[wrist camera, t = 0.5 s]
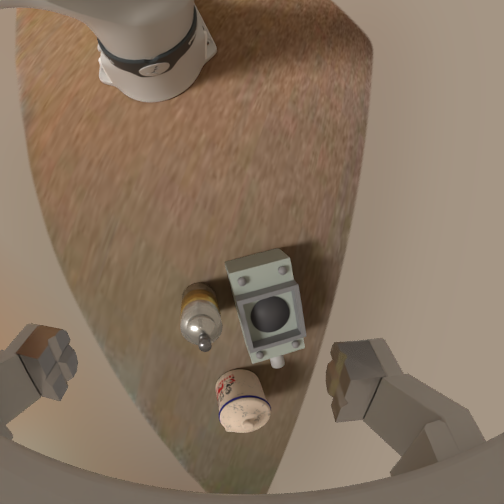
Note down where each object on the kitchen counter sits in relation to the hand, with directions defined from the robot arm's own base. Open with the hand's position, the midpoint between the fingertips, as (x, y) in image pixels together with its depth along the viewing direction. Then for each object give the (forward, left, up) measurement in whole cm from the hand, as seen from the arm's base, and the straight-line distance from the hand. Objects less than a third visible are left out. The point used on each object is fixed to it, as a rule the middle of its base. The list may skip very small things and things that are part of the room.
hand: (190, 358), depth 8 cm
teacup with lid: (+35, -2, -39) cm, 52 cm away
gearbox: (+19, +7, -39) cm, 44 cm away
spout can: (+14, -3, -39) cm, 41 cm away
